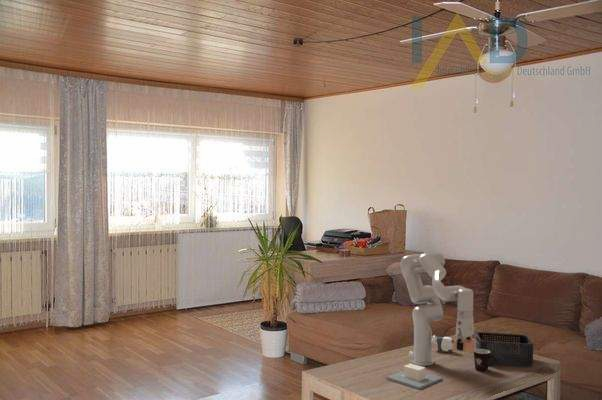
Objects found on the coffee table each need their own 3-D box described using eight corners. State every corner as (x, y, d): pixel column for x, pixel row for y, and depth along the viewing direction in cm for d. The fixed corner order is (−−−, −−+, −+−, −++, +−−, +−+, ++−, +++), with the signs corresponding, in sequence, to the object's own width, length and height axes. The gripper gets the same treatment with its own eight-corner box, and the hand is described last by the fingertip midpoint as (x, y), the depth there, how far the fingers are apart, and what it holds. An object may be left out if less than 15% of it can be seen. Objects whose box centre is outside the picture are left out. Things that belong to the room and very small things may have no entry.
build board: (386, 379, 291) (386, 376, 291) (409, 370, 305) (409, 367, 304) (419, 389, 276) (419, 386, 276) (442, 379, 290) (442, 377, 290)
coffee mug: (469, 368, 308) (469, 349, 308) (482, 366, 311) (482, 348, 311) (484, 375, 297) (484, 356, 297) (497, 373, 301) (497, 354, 300)
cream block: (403, 375, 291) (403, 366, 291) (410, 373, 296) (410, 363, 296) (418, 380, 285) (418, 370, 285) (425, 377, 289) (425, 367, 289)
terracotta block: (453, 350, 289) (453, 340, 288) (456, 347, 294) (456, 337, 294) (471, 353, 284) (471, 343, 284) (474, 350, 289) (474, 340, 289)
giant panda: (454, 351, 338) (454, 335, 338) (453, 354, 333) (453, 337, 333) (429, 348, 344) (429, 332, 344) (427, 351, 339) (427, 334, 339)
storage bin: (526, 357, 329) (527, 334, 328) (534, 368, 310) (534, 343, 309) (474, 354, 334) (475, 331, 333) (479, 365, 314) (479, 340, 314)
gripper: (462, 317, 279) (461, 353, 280) (480, 312, 291) (479, 346, 292) (448, 314, 285) (448, 350, 286) (467, 309, 297) (466, 343, 298)
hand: (464, 348), depth 289 cm, fingers closed on terracotta block, 7 cm apart
